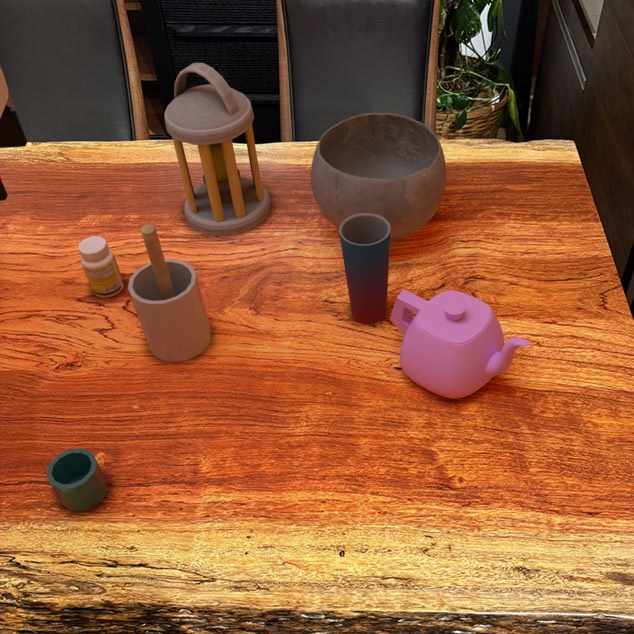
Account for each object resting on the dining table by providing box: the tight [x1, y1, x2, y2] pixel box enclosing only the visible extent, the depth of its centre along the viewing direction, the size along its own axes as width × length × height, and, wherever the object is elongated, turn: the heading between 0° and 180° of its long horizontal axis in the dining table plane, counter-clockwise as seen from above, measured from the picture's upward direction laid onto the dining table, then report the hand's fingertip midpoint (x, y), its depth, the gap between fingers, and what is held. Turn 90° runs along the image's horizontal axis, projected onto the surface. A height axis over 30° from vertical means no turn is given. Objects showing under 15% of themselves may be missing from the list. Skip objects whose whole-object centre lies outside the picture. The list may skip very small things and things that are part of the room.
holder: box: [46, 447, 109, 513], centre depth 95 cm, size 6×6×5 cm
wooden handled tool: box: [140, 224, 176, 300], centre depth 106 cm, size 3×3×19 cm
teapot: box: [389, 289, 531, 400], centre depth 104 cm, size 13×20×11 cm
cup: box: [338, 213, 391, 325], centre depth 110 cm, size 7×7×15 cm
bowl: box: [310, 112, 447, 243], centre depth 124 cm, size 20×20×15 cm
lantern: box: [164, 62, 271, 236], centre depth 124 cm, size 14×14×25 cm
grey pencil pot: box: [127, 258, 212, 363], centre depth 110 cm, size 9×9×11 cm
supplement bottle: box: [77, 235, 125, 298], centre depth 118 cm, size 5×5×8 cm
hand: (3, 171), depth 85 cm, fingers open, 9 cm apart
